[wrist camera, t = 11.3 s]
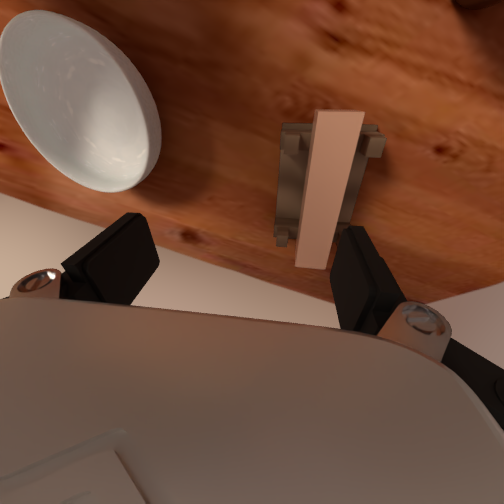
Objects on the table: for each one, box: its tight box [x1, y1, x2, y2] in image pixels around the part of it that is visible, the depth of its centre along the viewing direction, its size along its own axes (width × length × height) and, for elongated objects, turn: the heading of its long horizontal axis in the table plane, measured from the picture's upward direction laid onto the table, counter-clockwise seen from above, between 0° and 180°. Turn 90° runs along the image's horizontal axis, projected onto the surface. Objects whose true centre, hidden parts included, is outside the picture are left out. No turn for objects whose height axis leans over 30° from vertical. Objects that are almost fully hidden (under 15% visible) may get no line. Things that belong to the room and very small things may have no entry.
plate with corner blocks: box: [274, 123, 387, 248], centre depth 29 cm, size 15×11×6 cm
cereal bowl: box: [0, 10, 162, 192], centre depth 27 cm, size 17×17×7 cm
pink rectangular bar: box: [295, 109, 365, 270], centre depth 26 cm, size 18×4×4 cm, turn 0°
